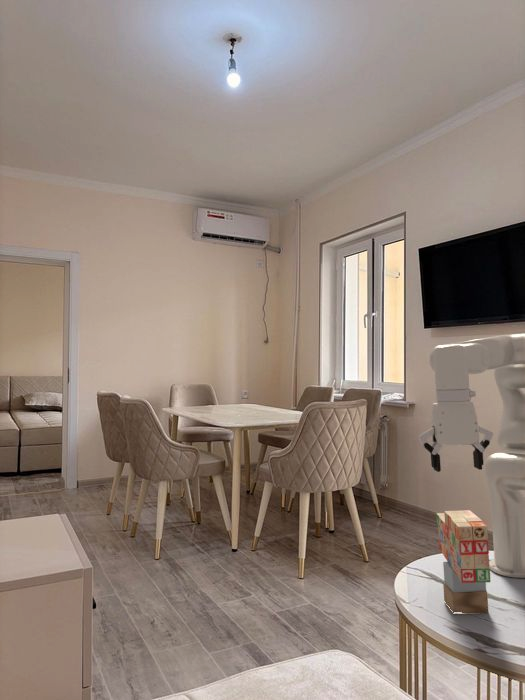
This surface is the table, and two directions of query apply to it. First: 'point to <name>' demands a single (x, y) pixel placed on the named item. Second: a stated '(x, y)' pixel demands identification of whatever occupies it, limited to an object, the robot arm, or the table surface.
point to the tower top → (456, 584)
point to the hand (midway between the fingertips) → (457, 469)
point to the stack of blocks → (464, 545)
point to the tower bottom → (466, 601)
